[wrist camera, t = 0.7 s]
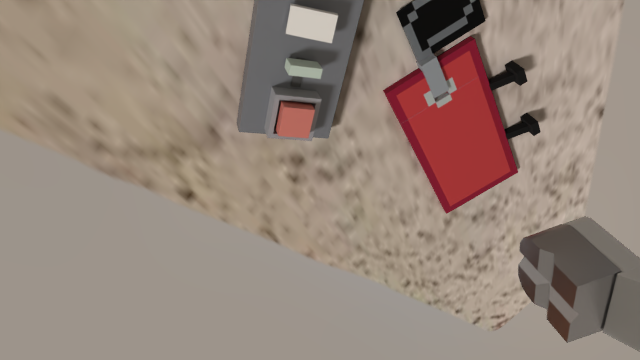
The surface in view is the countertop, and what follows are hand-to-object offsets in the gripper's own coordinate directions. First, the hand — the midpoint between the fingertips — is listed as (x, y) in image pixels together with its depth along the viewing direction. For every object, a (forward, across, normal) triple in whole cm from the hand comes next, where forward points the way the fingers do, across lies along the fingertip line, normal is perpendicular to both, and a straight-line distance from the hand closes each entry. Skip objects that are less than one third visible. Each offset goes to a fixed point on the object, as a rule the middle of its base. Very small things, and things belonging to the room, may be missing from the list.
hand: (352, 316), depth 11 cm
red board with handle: (+42, -24, +22) cm, 53 cm away
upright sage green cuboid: (+38, -6, +10) cm, 40 cm away
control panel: (+41, -7, +7) cm, 42 cm away
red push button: (+37, -4, +15) cm, 40 cm away
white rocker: (+38, -8, +6) cm, 39 cm away
